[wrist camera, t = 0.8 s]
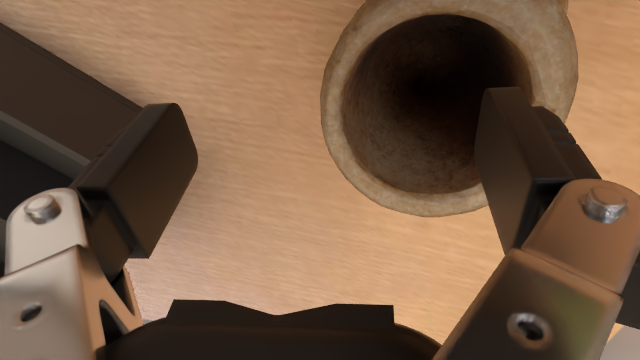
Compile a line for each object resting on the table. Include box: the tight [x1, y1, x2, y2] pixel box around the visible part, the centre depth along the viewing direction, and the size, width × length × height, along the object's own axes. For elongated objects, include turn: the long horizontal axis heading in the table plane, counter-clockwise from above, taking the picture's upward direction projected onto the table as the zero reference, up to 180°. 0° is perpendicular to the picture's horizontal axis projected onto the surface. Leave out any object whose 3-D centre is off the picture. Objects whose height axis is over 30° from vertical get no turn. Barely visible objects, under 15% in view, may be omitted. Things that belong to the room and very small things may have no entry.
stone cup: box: [320, 0, 578, 217], centre depth 21 cm, size 15×12×15 cm
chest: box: [0, 23, 143, 222], centre depth 33 cm, size 16×13×8 cm
